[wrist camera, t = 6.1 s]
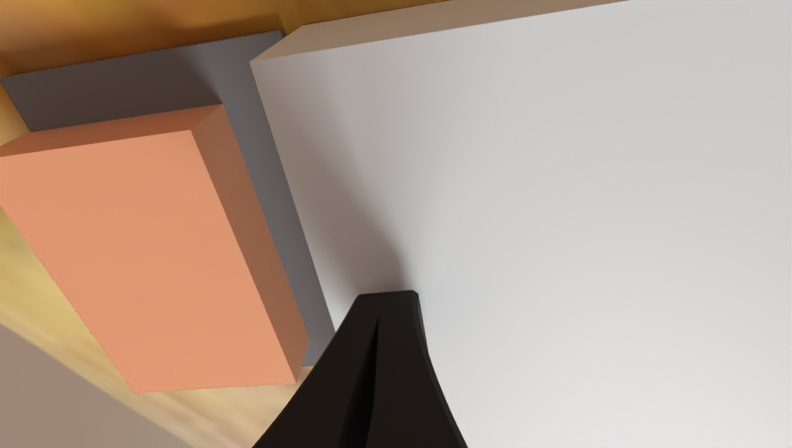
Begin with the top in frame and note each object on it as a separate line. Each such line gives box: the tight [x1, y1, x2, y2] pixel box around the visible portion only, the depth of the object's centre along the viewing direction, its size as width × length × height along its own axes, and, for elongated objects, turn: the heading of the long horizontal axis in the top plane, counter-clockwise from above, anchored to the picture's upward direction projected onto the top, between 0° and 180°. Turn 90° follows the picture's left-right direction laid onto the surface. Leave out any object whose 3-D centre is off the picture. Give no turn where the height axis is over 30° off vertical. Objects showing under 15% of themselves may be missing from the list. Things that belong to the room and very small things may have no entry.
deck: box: [249, 0, 792, 448], centre depth 13 cm, size 12×18×4 cm, turn 9°
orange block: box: [0, 104, 309, 393], centre depth 14 cm, size 6×9×2 cm, turn 9°
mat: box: [0, 29, 336, 367], centre depth 15 cm, size 8×12×1 cm, turn 9°
